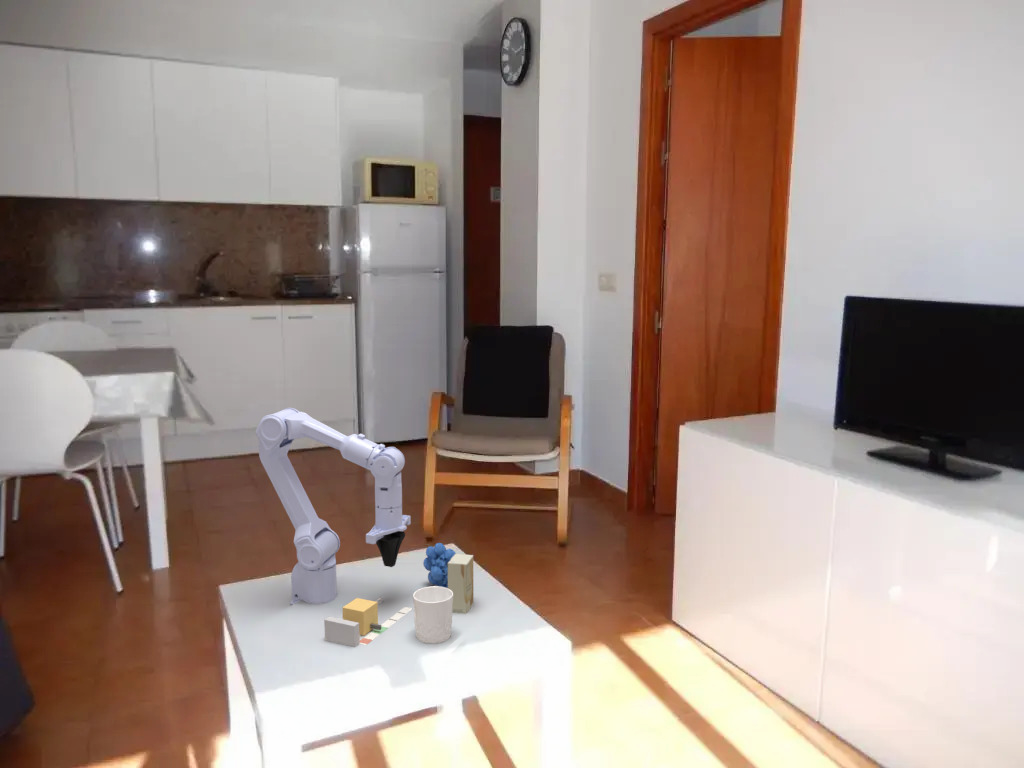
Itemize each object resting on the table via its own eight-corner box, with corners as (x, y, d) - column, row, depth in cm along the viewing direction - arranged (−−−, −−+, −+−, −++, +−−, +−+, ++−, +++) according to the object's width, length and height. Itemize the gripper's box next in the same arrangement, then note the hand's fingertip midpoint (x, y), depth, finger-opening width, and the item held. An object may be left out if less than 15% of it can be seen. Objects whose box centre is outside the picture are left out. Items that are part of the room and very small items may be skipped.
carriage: (343, 631, 153) (342, 607, 153) (357, 620, 158) (356, 597, 157) (373, 637, 151) (373, 613, 150) (387, 627, 155) (386, 603, 154)
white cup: (414, 633, 156) (413, 586, 154) (453, 631, 156) (452, 585, 155) (412, 652, 148) (412, 603, 146) (453, 650, 149) (453, 601, 147)
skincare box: (466, 620, 162) (466, 564, 160) (447, 618, 163) (446, 563, 161) (474, 607, 168) (474, 554, 166) (455, 605, 169) (455, 552, 167)
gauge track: (314, 646, 150) (314, 619, 149) (376, 602, 170) (376, 578, 169) (362, 657, 146) (361, 629, 145) (419, 611, 166) (419, 586, 165)
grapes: (412, 595, 174) (411, 544, 173) (431, 585, 180) (430, 536, 178) (452, 607, 168) (452, 555, 166) (471, 596, 173) (470, 546, 172)
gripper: (385, 517, 156) (386, 580, 158) (422, 498, 169) (422, 557, 171) (356, 512, 159) (358, 574, 160) (395, 494, 172) (395, 552, 174)
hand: (389, 565), depth 166 cm, fingers closed
